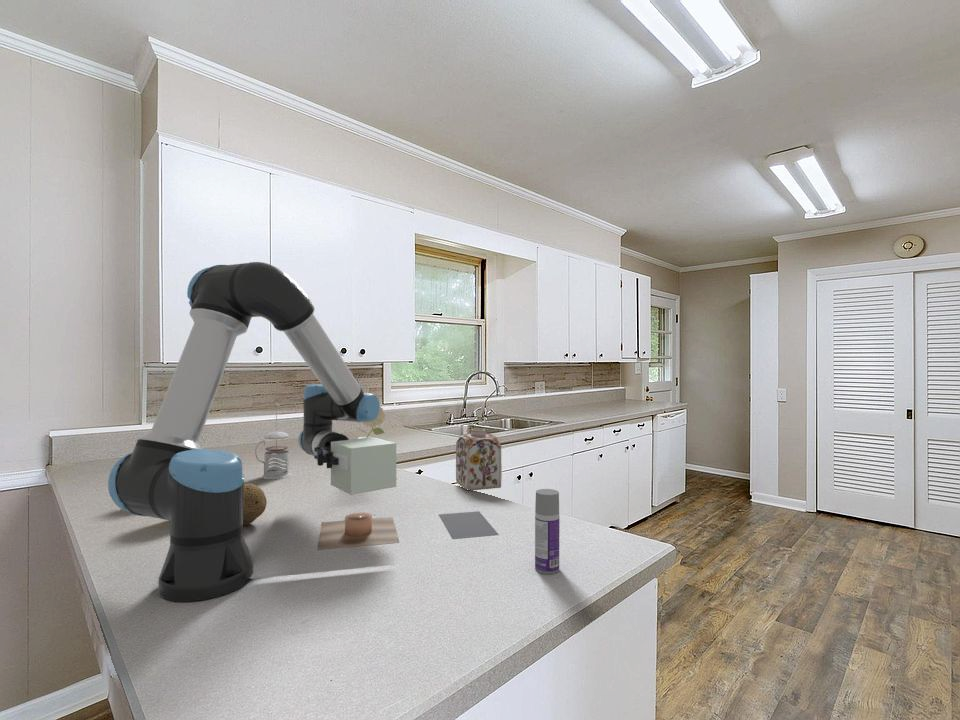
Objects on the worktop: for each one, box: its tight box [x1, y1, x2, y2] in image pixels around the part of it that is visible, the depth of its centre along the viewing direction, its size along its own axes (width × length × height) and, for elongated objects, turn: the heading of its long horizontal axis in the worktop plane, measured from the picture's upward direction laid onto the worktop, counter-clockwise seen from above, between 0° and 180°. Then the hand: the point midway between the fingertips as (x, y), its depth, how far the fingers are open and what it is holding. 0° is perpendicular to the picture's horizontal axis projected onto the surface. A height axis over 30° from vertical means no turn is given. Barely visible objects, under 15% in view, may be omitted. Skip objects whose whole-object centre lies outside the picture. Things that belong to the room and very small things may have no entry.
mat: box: [438, 510, 500, 540], centre depth 121 cm, size 18×20×1 cm
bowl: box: [344, 512, 373, 536], centre depth 116 cm, size 6×6×4 cm
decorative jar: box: [455, 427, 503, 492], centre depth 161 cm, size 12×12×18 cm
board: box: [316, 516, 401, 551], centre depth 116 cm, size 18×17×1 cm
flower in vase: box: [357, 406, 386, 439], centre depth 169 cm, size 13×11×25 cm
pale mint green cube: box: [330, 436, 397, 496], centre depth 116 cm, size 11×11×10 cm
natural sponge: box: [243, 483, 268, 526], centre depth 123 cm, size 9×9×10 cm
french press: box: [254, 403, 292, 480], centre depth 173 cm, size 10×12×25 cm
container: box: [534, 488, 560, 575], centre depth 98 cm, size 5×5×15 cm
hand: (371, 460), depth 113 cm, fingers closed on pale mint green cube, 11 cm apart
